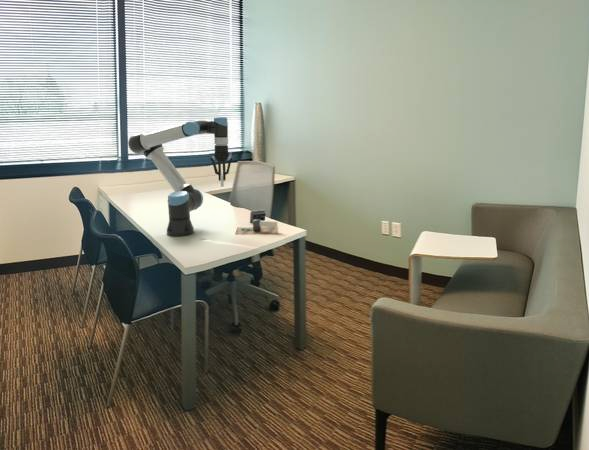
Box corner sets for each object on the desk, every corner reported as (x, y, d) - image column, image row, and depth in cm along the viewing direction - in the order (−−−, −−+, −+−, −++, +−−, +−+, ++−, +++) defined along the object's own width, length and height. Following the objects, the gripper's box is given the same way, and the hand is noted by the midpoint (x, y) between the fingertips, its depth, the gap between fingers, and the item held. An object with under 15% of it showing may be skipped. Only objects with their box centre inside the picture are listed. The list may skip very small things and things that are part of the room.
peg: (240, 230, 280) (239, 219, 279) (242, 228, 284) (242, 218, 283) (275, 232, 275) (275, 222, 273) (278, 230, 279) (277, 220, 278)
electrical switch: (263, 222, 304) (263, 208, 301) (266, 225, 299) (266, 211, 296) (249, 224, 300) (249, 210, 297) (252, 227, 296) (252, 212, 293)
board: (234, 236, 272) (234, 233, 272) (237, 229, 288) (237, 226, 287) (277, 236, 273) (277, 233, 272) (277, 229, 288) (277, 226, 288)
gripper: (208, 145, 270) (210, 187, 276) (232, 145, 271) (233, 187, 277) (210, 144, 278) (211, 185, 283) (233, 144, 278) (234, 185, 284)
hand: (222, 186), depth 280 cm, fingers closed
